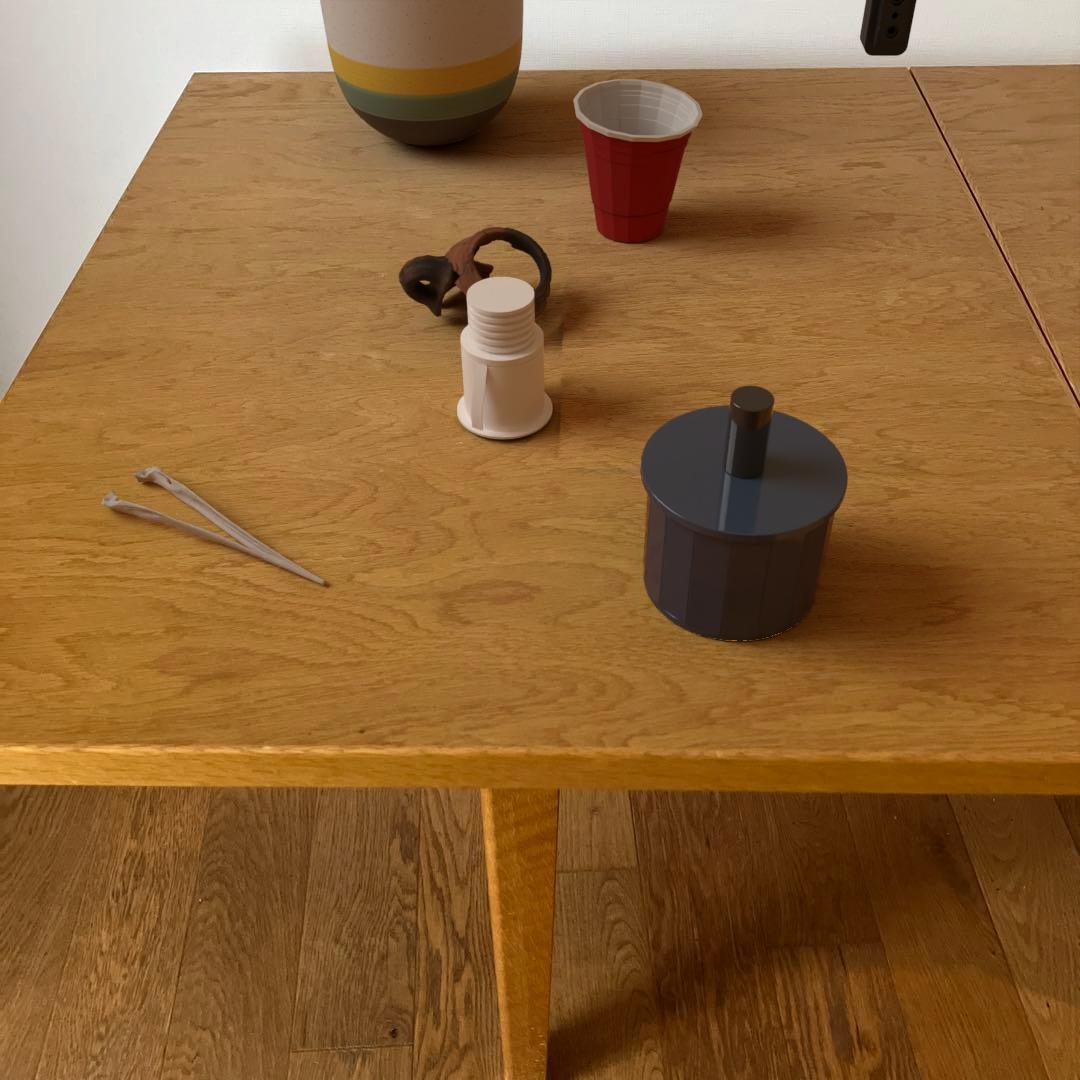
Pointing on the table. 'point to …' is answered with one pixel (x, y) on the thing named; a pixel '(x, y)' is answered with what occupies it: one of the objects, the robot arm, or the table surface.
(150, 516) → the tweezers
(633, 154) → the plastic cup
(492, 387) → the downlight
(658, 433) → the lid
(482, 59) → the planter
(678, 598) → the tin
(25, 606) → the table surface
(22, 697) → the table surface
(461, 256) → the brown curved piece
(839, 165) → the table surface
